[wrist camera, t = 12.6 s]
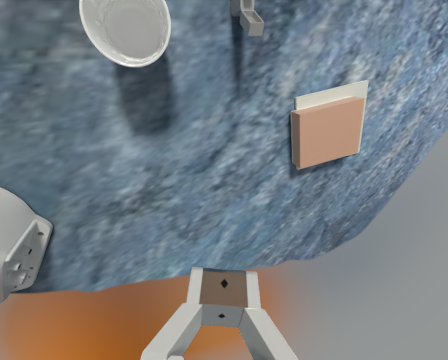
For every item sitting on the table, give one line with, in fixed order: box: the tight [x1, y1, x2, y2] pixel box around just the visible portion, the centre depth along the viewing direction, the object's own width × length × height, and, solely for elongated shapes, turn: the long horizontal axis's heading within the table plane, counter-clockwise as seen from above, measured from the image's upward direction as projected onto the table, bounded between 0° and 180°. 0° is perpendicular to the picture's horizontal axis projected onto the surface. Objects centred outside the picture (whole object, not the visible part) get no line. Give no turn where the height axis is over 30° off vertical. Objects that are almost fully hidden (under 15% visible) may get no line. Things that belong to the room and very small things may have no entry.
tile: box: [291, 96, 365, 169], centre depth 41 cm, size 3×10×12 cm
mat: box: [295, 80, 369, 170], centre depth 43 cm, size 14×14×1 cm
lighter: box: [231, 0, 264, 36], centre depth 28 cm, size 7×2×8 cm, turn 2°
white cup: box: [79, 0, 171, 67], centre depth 25 cm, size 8×8×10 cm
